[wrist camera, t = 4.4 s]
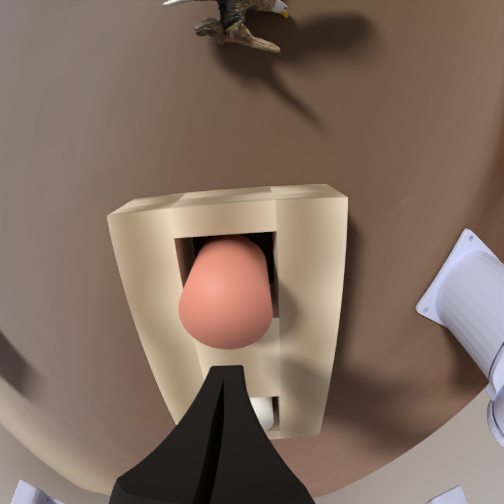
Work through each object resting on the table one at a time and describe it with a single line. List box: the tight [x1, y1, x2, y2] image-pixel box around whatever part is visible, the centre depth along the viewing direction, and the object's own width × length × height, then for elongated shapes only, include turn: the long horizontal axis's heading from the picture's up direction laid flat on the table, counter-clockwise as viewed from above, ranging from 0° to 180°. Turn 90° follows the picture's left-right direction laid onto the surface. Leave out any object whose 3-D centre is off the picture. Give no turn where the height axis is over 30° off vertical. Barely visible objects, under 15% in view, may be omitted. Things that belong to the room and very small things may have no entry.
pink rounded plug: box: [178, 234, 273, 350], centre depth 14 cm, size 4×4×4 cm
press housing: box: [107, 184, 348, 439], centre depth 19 cm, size 12×20×4 cm, turn 4°
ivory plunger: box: [250, 397, 274, 432], centre depth 21 cm, size 4×4×4 cm
